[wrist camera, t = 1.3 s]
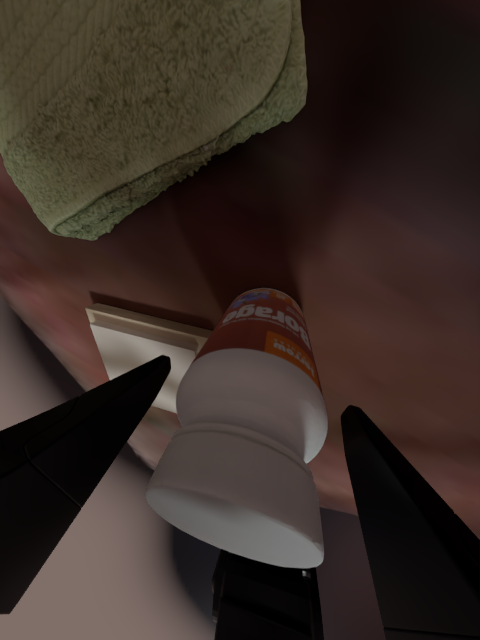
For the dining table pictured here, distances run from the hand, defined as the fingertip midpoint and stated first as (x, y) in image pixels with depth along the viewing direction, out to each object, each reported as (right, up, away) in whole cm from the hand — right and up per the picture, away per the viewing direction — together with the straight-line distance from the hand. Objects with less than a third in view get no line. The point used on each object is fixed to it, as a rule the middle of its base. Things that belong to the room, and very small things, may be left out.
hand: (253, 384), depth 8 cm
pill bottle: (+1, +3, +5) cm, 7 cm away
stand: (-10, -2, +10) cm, 14 cm away
